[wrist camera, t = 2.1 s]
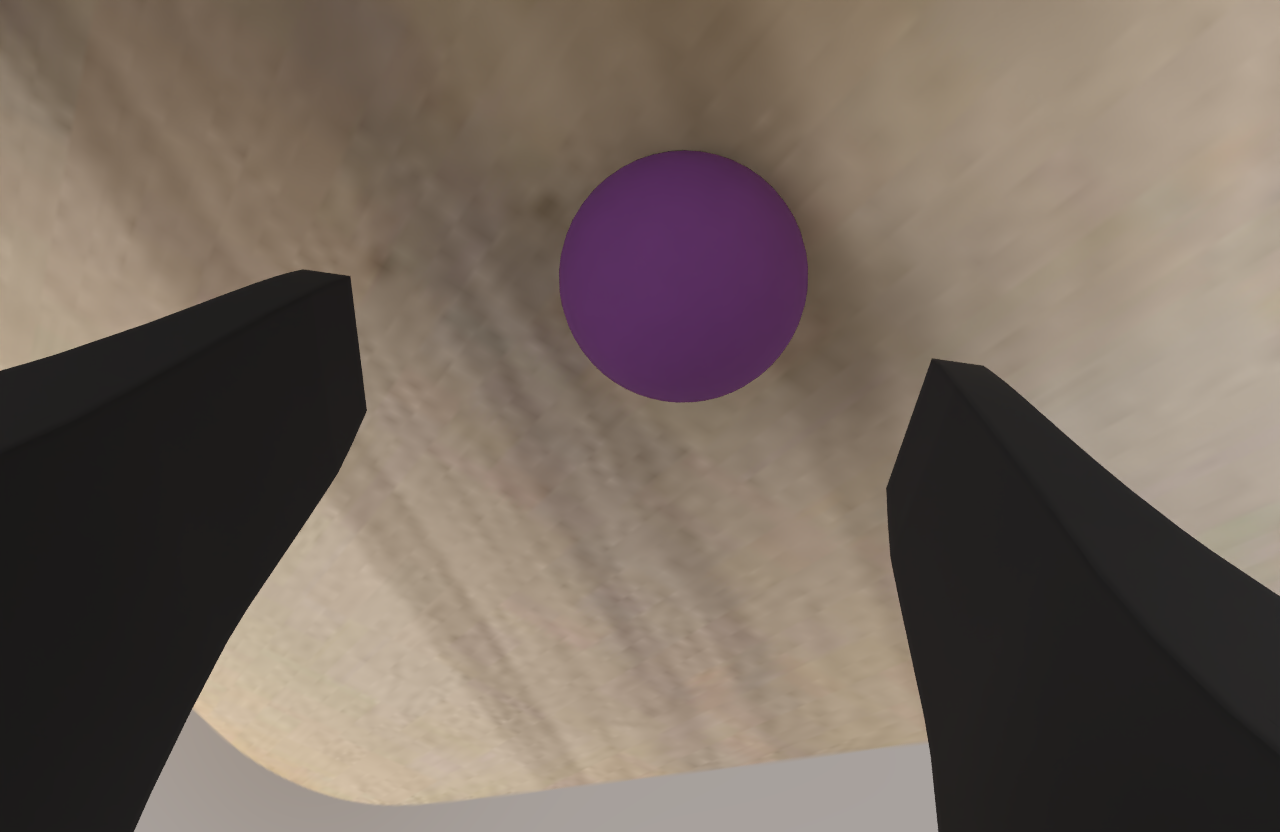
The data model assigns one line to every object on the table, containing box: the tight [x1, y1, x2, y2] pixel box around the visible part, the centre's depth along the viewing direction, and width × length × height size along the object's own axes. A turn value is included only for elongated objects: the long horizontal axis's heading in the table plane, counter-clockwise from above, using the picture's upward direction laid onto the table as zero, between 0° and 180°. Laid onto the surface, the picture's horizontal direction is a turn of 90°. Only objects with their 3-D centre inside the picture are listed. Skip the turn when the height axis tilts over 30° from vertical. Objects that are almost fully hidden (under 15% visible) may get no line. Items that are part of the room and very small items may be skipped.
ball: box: [559, 150, 808, 402], centre depth 17 cm, size 5×5×5 cm
